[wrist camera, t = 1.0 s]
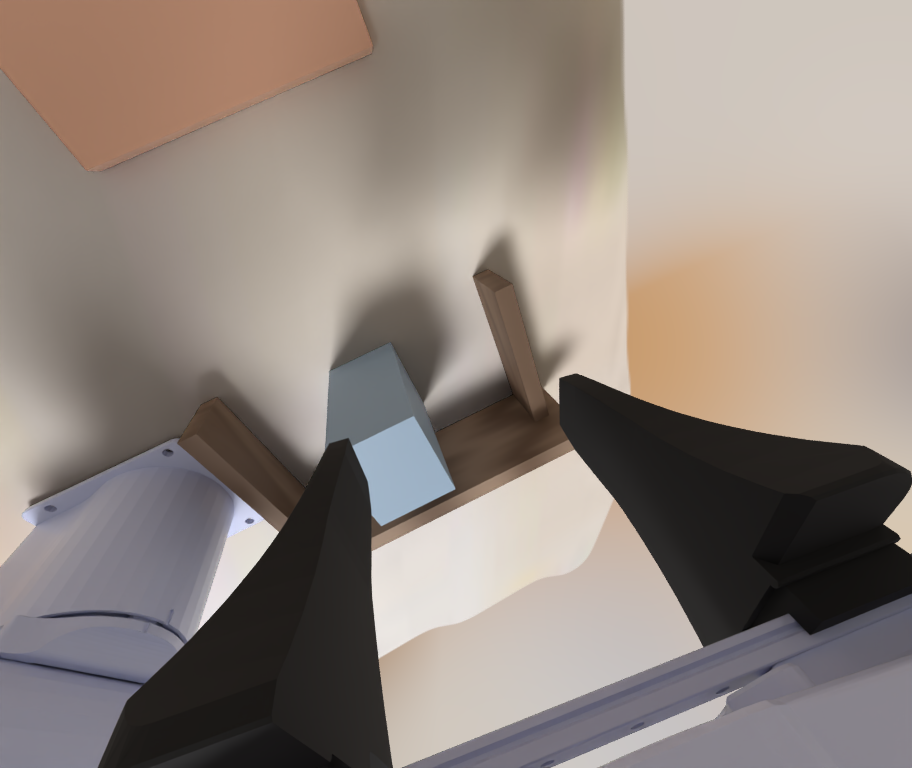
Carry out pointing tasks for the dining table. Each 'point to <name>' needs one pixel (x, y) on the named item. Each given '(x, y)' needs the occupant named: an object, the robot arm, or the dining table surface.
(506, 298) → the wooden u-shaped rack
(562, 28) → the dining table surface
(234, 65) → the tile
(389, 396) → the block
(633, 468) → the robot arm
